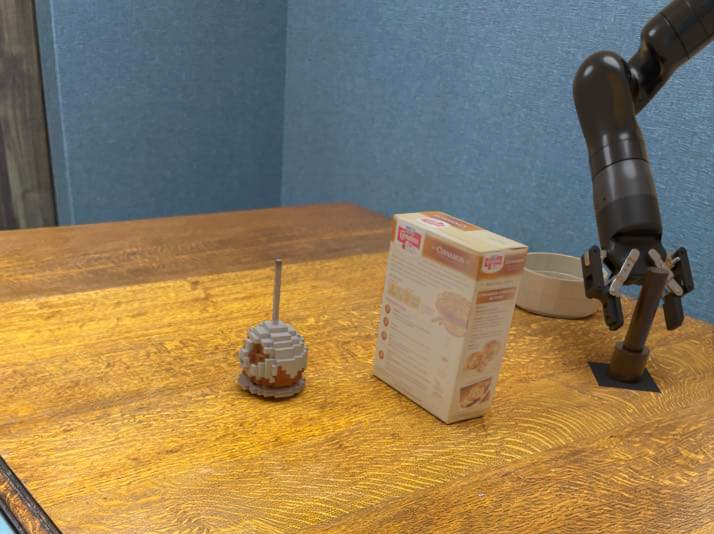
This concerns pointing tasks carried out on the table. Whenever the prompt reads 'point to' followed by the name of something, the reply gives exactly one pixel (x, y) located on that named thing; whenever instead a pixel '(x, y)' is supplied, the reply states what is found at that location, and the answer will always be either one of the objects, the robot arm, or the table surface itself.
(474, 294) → the coffeecake box
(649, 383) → the coaster
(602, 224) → the robot arm
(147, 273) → the table surface
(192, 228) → the table surface
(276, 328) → the decorative ornament
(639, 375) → the pestle
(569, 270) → the bowl
